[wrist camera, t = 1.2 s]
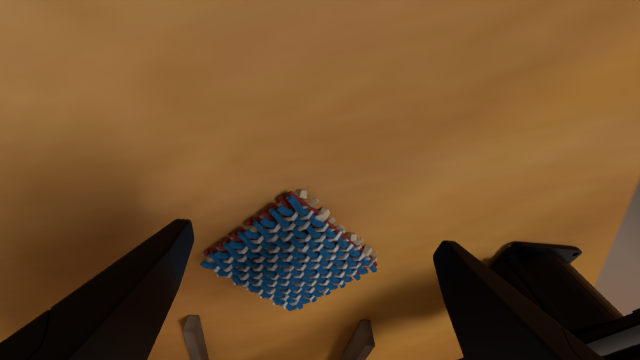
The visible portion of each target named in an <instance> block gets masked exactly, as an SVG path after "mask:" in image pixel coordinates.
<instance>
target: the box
mask: <svg viewBox="0 0 640 360" xmlns="http://www.w3.org/2000/svg"><path fill="white" fill-rule="evenodd" d="M183 334H184V338H185V341H186V344H187V347H188V350H189V353H190V356H191V360H209V359H208V354H207V349H206V345H205V340H204V336H203V331H202V327H201V322H200V317H199V316H194V315H189V316H188V318H187V321H186V324H185V326H184V329H183ZM374 347H375V343H374V338H373V334H372V329H371V324H370V320H361V321H360V323H359V325H358V327H357V329H356V330H355V332H354V334H353V336H352V338H351V340H350V341H349V343H348V345H347V347H346V349H345V351H344V352H343V354H342V356H341V358H340V360H366V358H367V357H368V355H369V354H370V352H371V351H372V349H373V348H374Z"/></svg>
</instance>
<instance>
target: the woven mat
mask: <svg viewBox="0 0 640 360" xmlns="http://www.w3.org/2000/svg"><path fill="white" fill-rule="evenodd" d="M278 199H279V201H280V202H279V203H278V204H275V203H272V204H271V205H270V208H271V209H269V210H268V211H267V210H264V211H262V214H261V216H260V217H259V216H256V217H254V219H253V220H250V219H249V220H247V221H246V225H247V226H246V227H245V228H243V227H241V228H239V230H238V233H237V232H235V231H234V232H233V233H232V234H231V236H232V237H231V238H229V237H227V238H225V240H224V243H221V242H220V243H218V244H217V248H214V247H213V248H212V249H211V250H206V251H205V252H204V256H207V257H206V259H207V261H208V262H210V263H208V262H207V261H205V260H204V261H203V262H202V263H201V264H200V265H201V266H202V267H204V268H209V269H212V271H213V272H217V274H216V276H217V277H219V276H224V277H225V278H230V277H231V278H232V280H233V281H234V282H233V283H232V284H233V285H239V284H240V286H243V287H247V288H246V290H247V291H248V290H250V291H251V292H255V293H256V294H260V297H259V298H261V299H262V298H266V299H268V300H272V299H273V301H274V303H273V305H275V304H276V305H280V306H283V308H284V309H285V308H287V309H288V310H289V311H291V310H295V309H297V307H298V308H299V309H301V308H303V305H302V304H306V303H309V302H310V300H312V302H315V301H316V300H317V299H316V297H321V296H323V293H326V295H329V294H330V293H331V292H330V290H334V289H336V288H338V287H337V286H338V285H340V287H341V288H343V287H344V286H345V283H344V282H350V281H352V280H353V279H352V278H351V276H353V277H354V278H355V279H356V280H357V281H358V280H359V279H360V276H359V274H366V273H368V271H367V269H366V268H368V267H369V268H370V269H371V271H372V272H373V273H374V272H376V271H377V268H376V266H377V263H376V262H375V260H377V258H376V257H374V256H375V255H376V254H378V253H377V252H376V251H375V252H373V253H371V251H372V248H371V247H369V246H367V245H365V247H364V248H363V247H362V246H361V245H359V244H360V243H362V242H363V241H364V240H363V239H362V238H359V239H357V240H356V236H357V234H355V233H352V232H348V233H346V234H343V233H342V232H344V233H345V230H344V227H343V226H342V225H341V224H340V225H338V226H336V227H335V226H334V225H332V224H333V223H334V222H336V220H335V219H334V218H332V217H330V218H328V219H327V217H328V216H329V214H330V211H329V210H328V209H326V208H323V207H322V208H321V210H320V211H319V210H318V209H314V208H312V207H313V206H314V205H315V204H317V203H318V202H319V200H317V199H314V200H312V201H310V202H309V203H306V202H305V201H303V200H302V199H307V191H306V190H296V191H295V192H292V191H290V192H289V193H287V197H286V198H284V197H283V196H282V195H281V196H280V197H278ZM269 220H270V221H269ZM259 232H260V233H261V234H260V233H259ZM250 239H251V240H250ZM352 241H353V242H352ZM237 242H240V243H237ZM285 242H286V243H285ZM358 245H359V246H358ZM225 251H226V252H228V253H224V252H225ZM327 252H328V253H327ZM370 253H371V254H370ZM363 268H364V269H363ZM337 269H338V270H337ZM241 270H242V271H241ZM240 279H241V280H240ZM256 286H259V287H256ZM270 290H271V291H270ZM299 301H300V302H301V303H302V304H301V303H300V302H299ZM282 303H283V304H282ZM291 305H295V306H291ZM296 306H297V307H296Z"/></svg>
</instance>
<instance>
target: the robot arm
mask: <svg viewBox="0 0 640 360" xmlns="http://www.w3.org/2000/svg"><path fill="white" fill-rule="evenodd" d="M193 242H194V234H193V228H192V223H191V221H190V220H188V219H176V220H174V221H172V222H171V223H170V224H168V225H167V226H165V227H164V228H163V229H161V230H160V231H158V232H157V233H156V234H154V235H153V236H151V237H150V238H148V239H147V240H146V241H144V242H143V243H141V244H140V245H139V246H137V247H136V248H134V249H133V250H132V251H130V252H129V253H127V254H126V255H124V256H123V257H122V258H120V259H119V260H117V261H116V262H115V263H113V264H112V265H110V266H109V267H108V268H106V269H105V270H103V271H102V272H101V273H99V274H98V275H96V276H95V277H93V278H92V279H91V280H89V281H88V282H86V283H85V284H84V285H82V286H81V287H79V288H78V289H77V290H75V291H74V292H72V293H71V294H69V295H68V296H67V297H65V298H64V299H62V300H61V301H60V302H58V303H57V304H55V305H54V306H53V307H51V309H50V310H47V311H45V312H44V313H42V314H41V315H40V316H38V317H37V318H35V319H34V320H33V321H31V322H30V323H28V324H27V325H25V326H24V327H23V328H21V329H20V330H18V331H17V332H15V333H14V334H12V335H11V336H9V337H8V338H7V339H5V340H4V341H2V342H1V343H0V360H147V359H148V356H149V354H150V352H151V350H152V347H153V345H154V343H155V341H156V338H157V336H158V334H159V332H160V329H161V327H162V325H163V323H164V321H165V318H166V316H167V314H168V312H169V309H170V307H171V305H172V303H173V300H174V298H175V296H176V294H177V291H178V289H179V286H180V283H181V280H182V277H183V274H184V271H185V268H186V265H187V261H188V258H189V255H190V252H191V249H192V246H193ZM581 253H582V251H581V250H580V249H579V248H577V247H572V246H560V245H548V244H536V243H524V242H517V243H514V244H513V245H511V246H510V248H509V249H508V250H507V251H506V252H505V253H504V254H503V255H502V256H501V257H500V258H499V259H498V260H497V262H496V263H495V264H494V265H493V266H492V267H491V268H490V269H489V268H488V267H487V266H486V265H484V264H483V263H482V262H480V261H479V260H478V259H477V258H475V257H474V256H473V255H472V254H470V253H469V252H468V251H467V250H465V249H464V248H463V247H462V246H460V245H459V244H458V243H456V242H455V241H447V240H444V241H442V242H441V244H440V245H439V247H438V248H437V250H436V251H435V253H434V255H433V261H434V265H435V269H436V273H437V277H438V281H439V285H440V289H441V293H442V296H443V300H444V303H445V306H446V308H447V311H448V314H449V317H450V320H451V322H452V325H453V328H454V331H455V333H456V336H457V339H458V342H459V345H460V347H461V350H462V353H463V356H464V358H465V360H640V308H639V309H637V310H634V311H633V313H632V314H629V315H626V316H623V315H622V314H621V313H620V312H619V311H618V310H617V309H616V308H615V307H614V306H613V305H612V304H611V303H610V302H609V301H607V300H606V299H605V298H604V297H603V296H602V295H601V294H600V293H599V292H598V291H597V290H596V289H595V288H594V287H593V286H592V285H591V284H590V283H589V282H588V281H587V280H586V279H585V278H584V277H583V276H582V275H581V274H580V273H579V272H578V271H577V270H576V269H575V268H573V267H572V266H571V265H570V263H571V262H572V261H573V260H575V259H576V258H577V257H578V256H579V255H580V254H581Z"/></svg>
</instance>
